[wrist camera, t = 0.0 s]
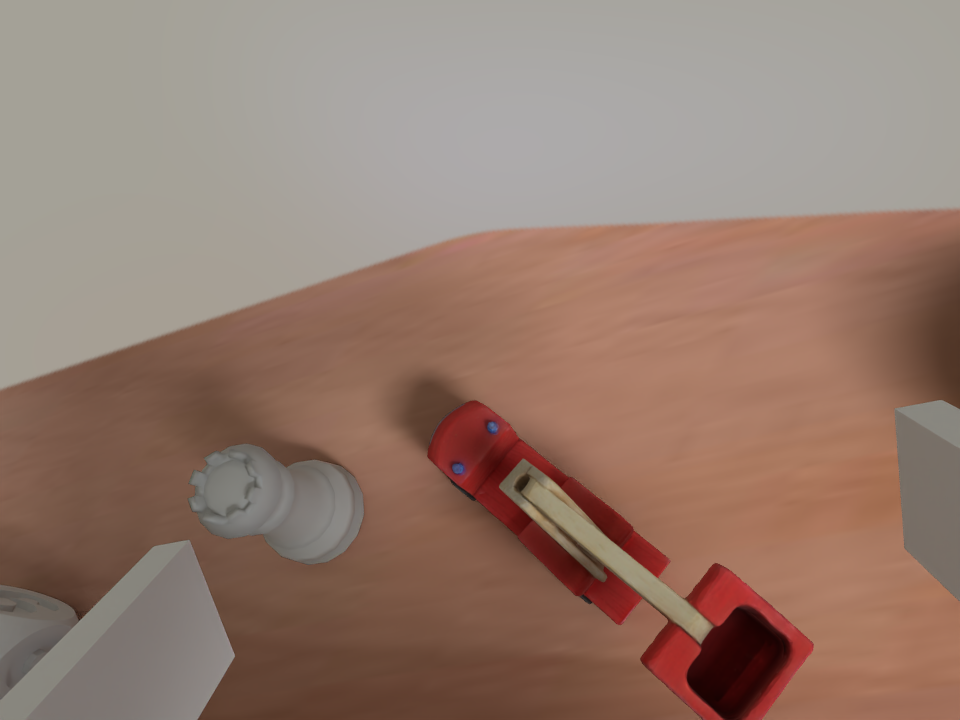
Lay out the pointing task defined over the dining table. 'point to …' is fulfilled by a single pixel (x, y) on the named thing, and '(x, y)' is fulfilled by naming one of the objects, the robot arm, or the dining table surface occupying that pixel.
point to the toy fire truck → (625, 571)
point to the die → (28, 631)
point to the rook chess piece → (279, 502)
